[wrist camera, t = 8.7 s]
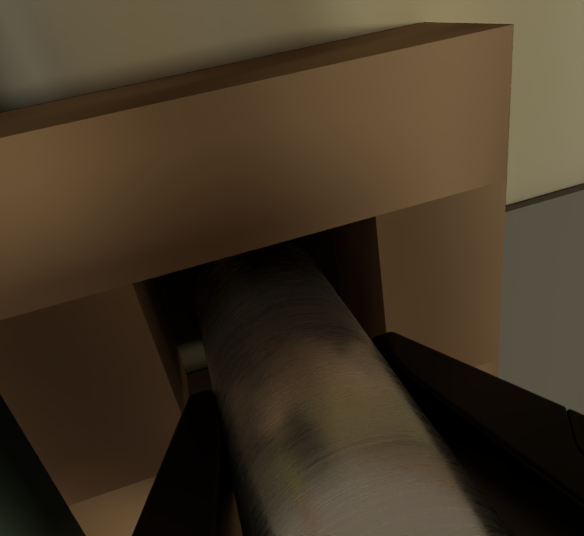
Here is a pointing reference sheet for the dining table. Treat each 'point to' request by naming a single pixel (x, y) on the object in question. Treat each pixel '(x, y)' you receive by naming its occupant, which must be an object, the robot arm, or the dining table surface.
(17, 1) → the dining table surface
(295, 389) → the peg
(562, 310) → the mat
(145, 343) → the hole block
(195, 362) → the dining table surface
